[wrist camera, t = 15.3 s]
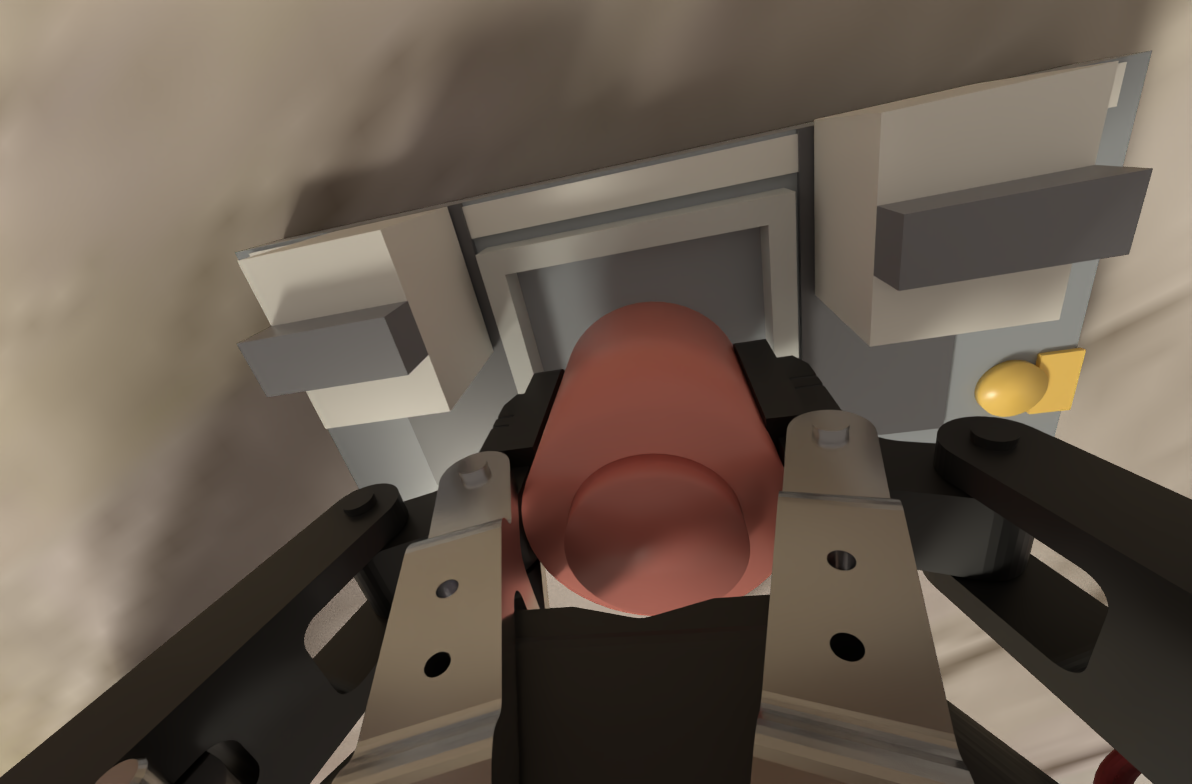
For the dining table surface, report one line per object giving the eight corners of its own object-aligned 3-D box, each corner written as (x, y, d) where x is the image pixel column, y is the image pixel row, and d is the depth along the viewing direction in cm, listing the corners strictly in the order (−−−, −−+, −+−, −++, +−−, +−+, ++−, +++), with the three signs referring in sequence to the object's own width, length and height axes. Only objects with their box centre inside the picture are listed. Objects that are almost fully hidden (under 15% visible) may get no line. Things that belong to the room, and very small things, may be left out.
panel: (1009, 419, 16) (1080, 475, 13) (400, 487, 20) (362, 541, 17) (1080, 62, 12) (1207, 41, 9) (281, 239, 15) (206, 260, 13)
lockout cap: (746, 447, 13) (809, 640, 8) (585, 465, 14) (550, 651, 9) (734, 286, 11) (806, 408, 6) (547, 317, 12) (475, 449, 7)
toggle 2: (952, 272, 12) (1105, 339, 8) (814, 294, 12) (893, 368, 9) (975, 83, 10) (1186, 49, 6) (813, 119, 11) (911, 110, 7)
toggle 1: (493, 350, 14) (433, 435, 10) (393, 367, 15) (298, 453, 11) (447, 206, 12) (351, 240, 8) (335, 230, 13) (196, 273, 9)
